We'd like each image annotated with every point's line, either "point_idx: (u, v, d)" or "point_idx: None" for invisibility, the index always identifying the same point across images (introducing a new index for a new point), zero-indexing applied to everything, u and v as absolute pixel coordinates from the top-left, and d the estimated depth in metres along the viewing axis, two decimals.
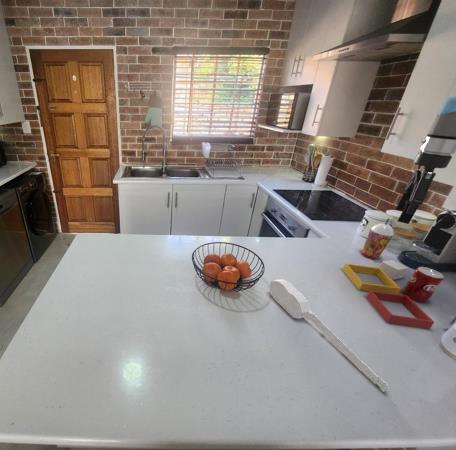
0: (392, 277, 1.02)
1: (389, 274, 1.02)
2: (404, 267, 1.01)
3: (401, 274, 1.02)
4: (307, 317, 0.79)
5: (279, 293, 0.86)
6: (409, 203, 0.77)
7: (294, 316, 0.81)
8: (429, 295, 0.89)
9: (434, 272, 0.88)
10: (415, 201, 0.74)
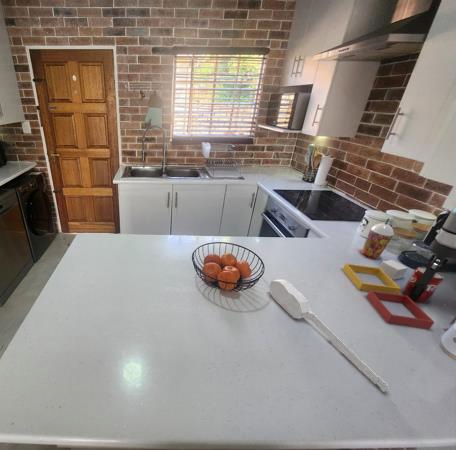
0: (392, 277, 1.02)
1: (389, 274, 1.02)
2: (404, 267, 1.01)
3: (401, 274, 1.02)
4: (307, 317, 0.79)
5: (279, 293, 0.86)
6: None
7: (294, 316, 0.81)
8: (429, 295, 0.89)
9: None
10: (419, 285, 0.86)
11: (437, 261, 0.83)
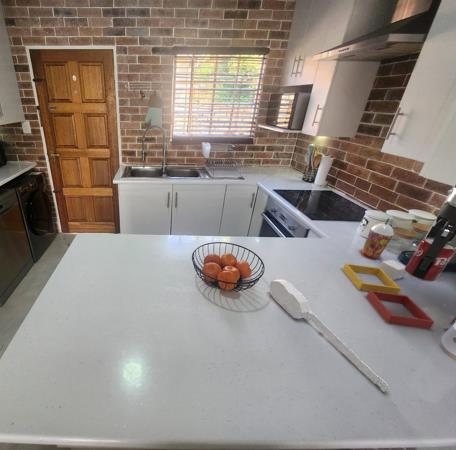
0: (392, 277, 1.02)
1: (389, 274, 1.02)
2: (404, 267, 1.01)
3: (401, 274, 1.02)
4: (307, 317, 0.79)
5: (279, 293, 0.86)
6: (423, 258, 0.73)
7: (294, 316, 0.81)
8: (438, 271, 0.73)
9: None
10: (427, 257, 0.71)
11: (449, 227, 0.68)
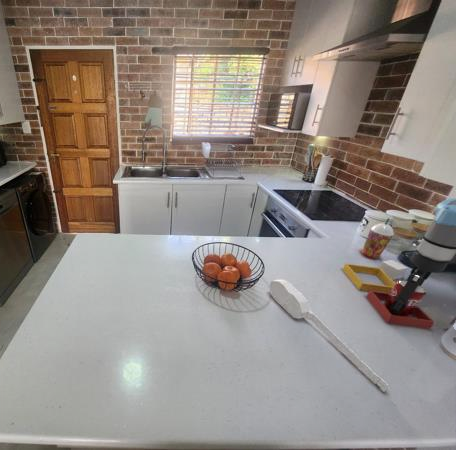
0: (392, 277, 1.02)
1: (389, 274, 1.02)
2: (404, 267, 1.01)
3: (401, 274, 1.02)
4: (307, 317, 0.79)
5: (279, 293, 0.86)
6: None
7: (294, 316, 0.81)
8: (411, 311, 0.81)
9: None
10: (399, 300, 0.77)
11: (419, 273, 0.75)
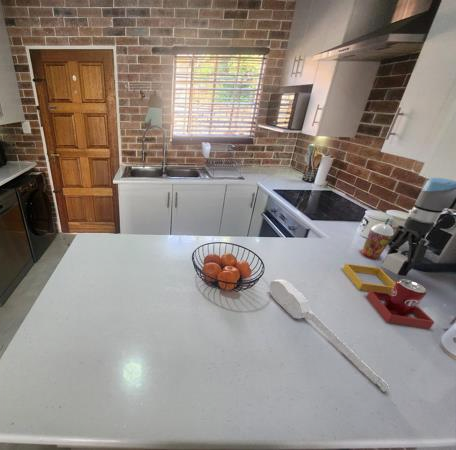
0: (398, 270, 0.99)
1: (395, 267, 1.00)
2: None
3: None
4: (307, 317, 0.79)
5: (279, 293, 0.86)
6: (408, 262, 0.96)
7: (294, 316, 0.81)
8: (411, 311, 0.81)
9: (416, 286, 0.81)
10: (416, 262, 0.93)
11: (423, 237, 0.92)
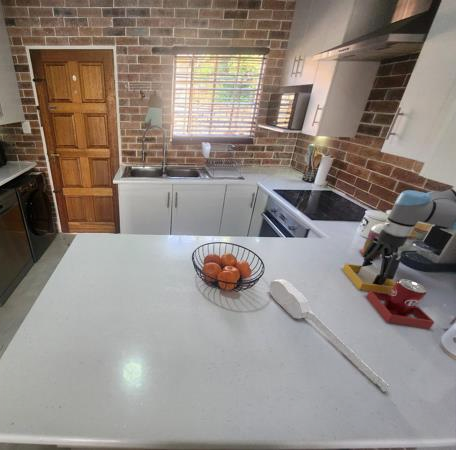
0: (371, 283, 0.96)
1: (368, 280, 0.97)
2: (384, 273, 0.96)
3: None
4: (307, 317, 0.79)
5: (279, 293, 0.86)
6: (381, 276, 0.93)
7: (294, 316, 0.81)
8: (411, 311, 0.81)
9: (416, 286, 0.81)
10: (388, 277, 0.90)
11: (395, 252, 0.89)
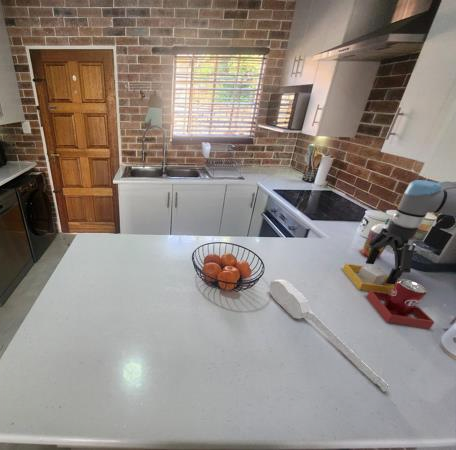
0: (371, 283, 0.96)
1: (368, 280, 0.97)
2: (384, 273, 0.96)
3: (380, 281, 0.97)
4: (307, 317, 0.79)
5: (279, 293, 0.86)
6: (397, 270, 0.88)
7: (294, 316, 0.81)
8: (411, 311, 0.81)
9: (416, 286, 0.81)
10: (405, 270, 0.85)
11: (406, 242, 0.86)
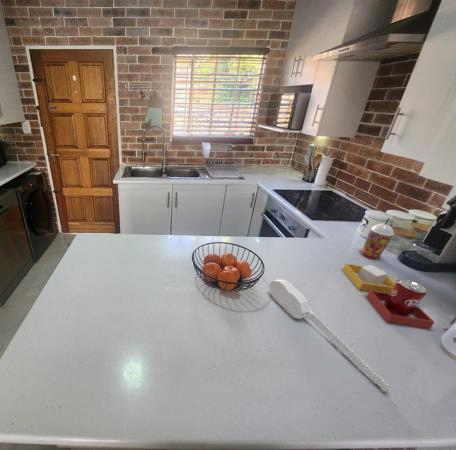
0: (371, 283, 0.96)
1: (368, 280, 0.97)
2: (384, 273, 0.96)
3: (380, 281, 0.97)
4: (307, 317, 0.79)
5: (279, 293, 0.86)
6: None
7: (294, 316, 0.81)
8: (411, 311, 0.81)
9: (416, 286, 0.81)
10: None
11: None
